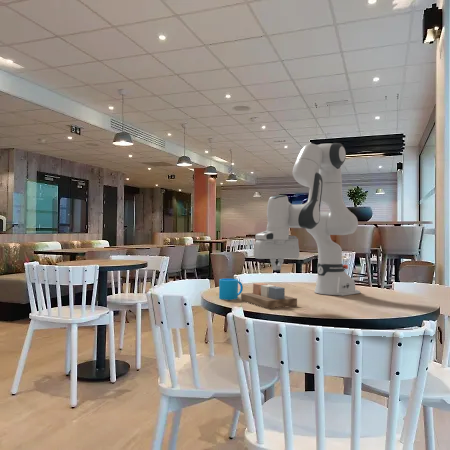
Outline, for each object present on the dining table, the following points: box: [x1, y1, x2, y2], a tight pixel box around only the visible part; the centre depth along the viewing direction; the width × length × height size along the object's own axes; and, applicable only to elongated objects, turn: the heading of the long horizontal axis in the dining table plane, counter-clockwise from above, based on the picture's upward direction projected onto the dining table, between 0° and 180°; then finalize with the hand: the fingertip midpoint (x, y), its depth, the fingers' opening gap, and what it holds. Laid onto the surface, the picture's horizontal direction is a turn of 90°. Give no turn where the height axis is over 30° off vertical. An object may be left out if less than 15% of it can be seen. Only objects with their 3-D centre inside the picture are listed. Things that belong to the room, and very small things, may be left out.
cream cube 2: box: [261, 284, 277, 297], centre depth 176 cm, size 4×4×4 cm
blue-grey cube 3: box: [269, 286, 286, 300], centre depth 171 cm, size 4×4×4 cm
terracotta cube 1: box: [252, 282, 269, 295], centre depth 182 cm, size 4×4×4 cm
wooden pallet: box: [240, 292, 298, 309], centre depth 176 cm, size 14×20×3 cm
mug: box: [218, 278, 244, 301], centre depth 189 cm, size 12×8×8 cm
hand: (276, 270), depth 171 cm, fingers closed
